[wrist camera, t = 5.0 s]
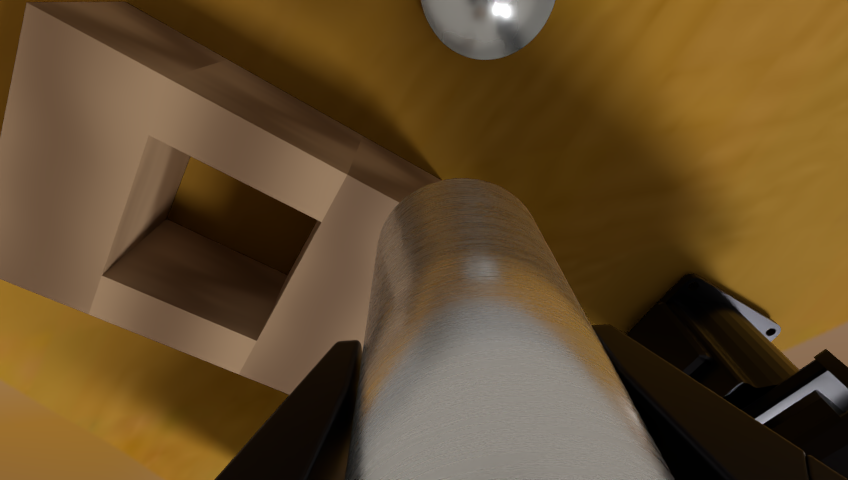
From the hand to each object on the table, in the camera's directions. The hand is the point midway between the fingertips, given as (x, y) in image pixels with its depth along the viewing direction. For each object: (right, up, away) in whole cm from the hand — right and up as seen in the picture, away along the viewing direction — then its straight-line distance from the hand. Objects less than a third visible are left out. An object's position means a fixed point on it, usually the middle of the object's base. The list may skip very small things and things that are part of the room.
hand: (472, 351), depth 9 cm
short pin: (+1, +11, +9) cm, 15 cm away
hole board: (-9, +4, +13) cm, 16 cm away
